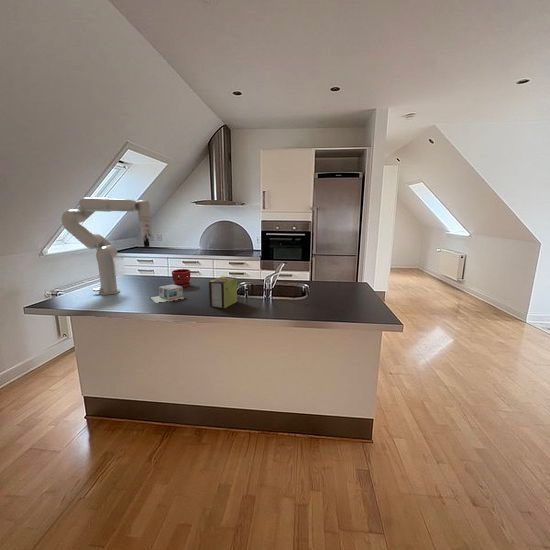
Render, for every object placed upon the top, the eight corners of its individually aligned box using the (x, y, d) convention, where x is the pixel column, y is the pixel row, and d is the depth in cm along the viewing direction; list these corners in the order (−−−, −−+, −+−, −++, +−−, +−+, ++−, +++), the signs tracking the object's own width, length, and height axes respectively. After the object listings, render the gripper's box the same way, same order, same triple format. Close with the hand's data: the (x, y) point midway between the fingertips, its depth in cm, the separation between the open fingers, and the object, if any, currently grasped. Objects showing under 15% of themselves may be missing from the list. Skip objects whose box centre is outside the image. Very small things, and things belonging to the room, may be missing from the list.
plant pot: (176, 283, 227) (175, 268, 224) (193, 284, 226) (192, 269, 224) (169, 288, 214) (168, 272, 211) (187, 288, 213) (186, 272, 211)
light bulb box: (159, 296, 190) (168, 299, 184) (158, 286, 188) (168, 289, 182) (173, 293, 198) (183, 296, 192) (172, 283, 197) (182, 286, 191)
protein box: (237, 301, 184) (237, 277, 181) (224, 308, 170) (223, 282, 167) (223, 299, 188) (222, 275, 184) (209, 306, 174) (208, 281, 170)
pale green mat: (155, 303, 178) (155, 302, 177) (150, 297, 189) (150, 297, 189) (185, 298, 188) (185, 298, 188) (178, 293, 199) (178, 293, 199)
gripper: (153, 219, 191) (155, 247, 195) (148, 219, 203) (150, 245, 207) (141, 219, 187) (143, 248, 191) (136, 219, 199) (138, 246, 203)
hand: (146, 246), depth 199 cm, fingers closed
